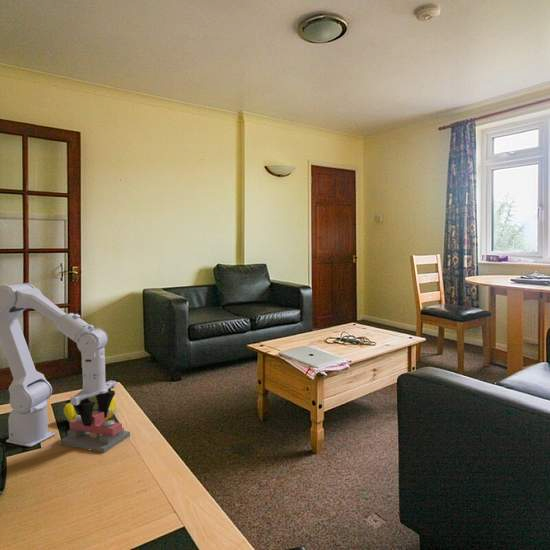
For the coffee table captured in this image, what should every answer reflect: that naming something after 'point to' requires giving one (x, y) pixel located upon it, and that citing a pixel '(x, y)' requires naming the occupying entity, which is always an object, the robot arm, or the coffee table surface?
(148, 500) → the coffee table surface
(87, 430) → the frame bar
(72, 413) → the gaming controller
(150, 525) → the coffee table surface
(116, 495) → the coffee table surface
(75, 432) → the display stand
